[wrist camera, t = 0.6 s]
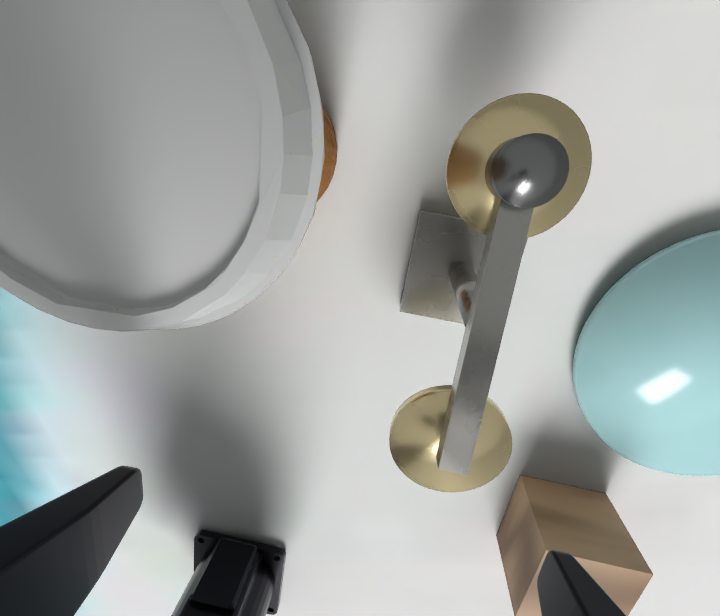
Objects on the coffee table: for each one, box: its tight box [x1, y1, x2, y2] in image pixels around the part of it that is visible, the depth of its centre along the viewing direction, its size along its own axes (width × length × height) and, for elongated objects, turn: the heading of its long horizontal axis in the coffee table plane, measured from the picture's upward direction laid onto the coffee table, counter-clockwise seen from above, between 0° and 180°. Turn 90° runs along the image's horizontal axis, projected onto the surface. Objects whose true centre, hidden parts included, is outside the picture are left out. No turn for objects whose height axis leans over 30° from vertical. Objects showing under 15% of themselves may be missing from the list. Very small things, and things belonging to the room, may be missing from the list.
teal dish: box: [573, 230, 720, 476], centre depth 19 cm, size 13×13×1 cm
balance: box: [390, 93, 592, 492], centre depth 16 cm, size 14×5×9 cm, turn 171°
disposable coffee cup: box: [0, 0, 337, 331], centre depth 13 cm, size 10×10×12 cm
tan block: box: [496, 475, 653, 616], centre depth 22 cm, size 5×5×5 cm
